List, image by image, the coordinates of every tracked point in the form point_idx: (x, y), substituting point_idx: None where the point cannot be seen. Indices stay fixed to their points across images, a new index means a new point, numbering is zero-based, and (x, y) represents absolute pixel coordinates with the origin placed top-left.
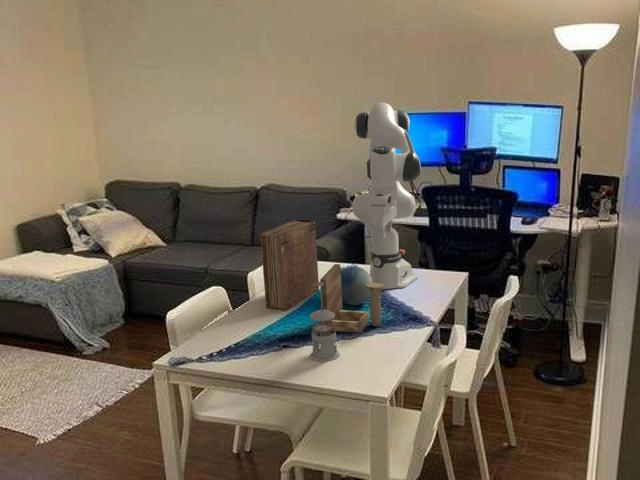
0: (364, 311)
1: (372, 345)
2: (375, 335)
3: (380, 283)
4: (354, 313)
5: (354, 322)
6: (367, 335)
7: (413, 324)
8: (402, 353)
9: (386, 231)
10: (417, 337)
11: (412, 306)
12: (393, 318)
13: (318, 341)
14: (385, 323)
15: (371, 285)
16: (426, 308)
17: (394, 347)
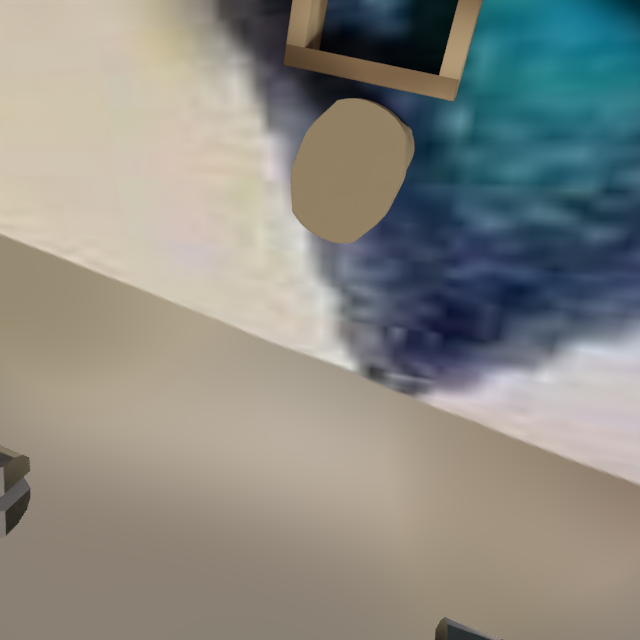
0: (459, 75)
1: (166, 128)
2: (267, 140)
3: (378, 220)
4: (457, 6)
5: (292, 23)
6: (266, 100)
7: (384, 316)
8: (113, 246)
9: (441, 625)
10: (251, 314)
11: (630, 342)
12: (471, 234)
13: None
14: (408, 191)
15: (338, 148)
16: (581, 399)
17: (157, 220)
